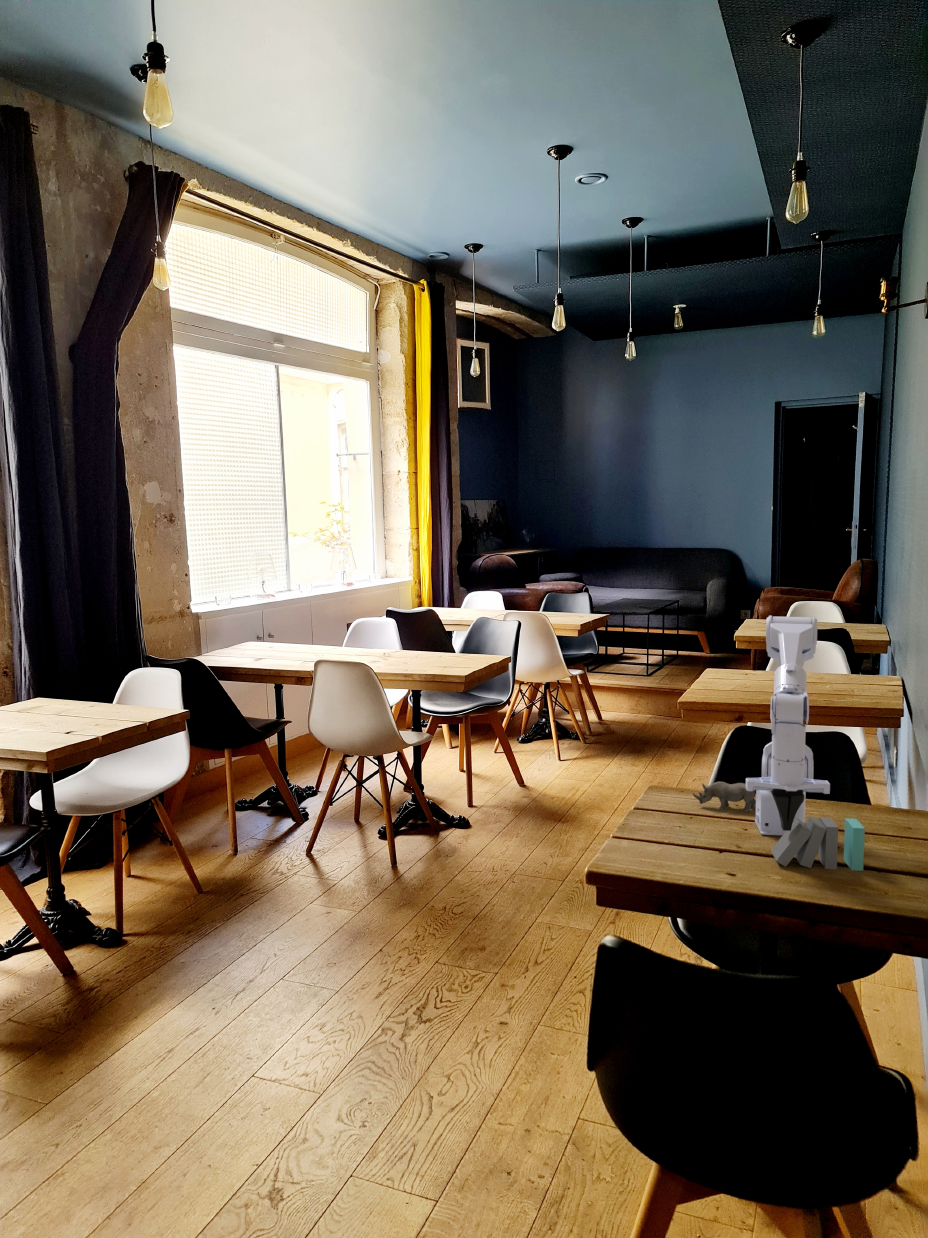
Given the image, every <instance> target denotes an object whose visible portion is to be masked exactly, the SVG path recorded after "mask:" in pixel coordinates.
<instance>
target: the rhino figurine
mask: <svg viewBox="0 0 928 1238" xmlns="http://www.w3.org/2000/svg"><path fill="white" fill-rule="evenodd" d="M702 788H703V792H699V791H698V794H699V795H697V794H695V793H694V792H692V796H693V797H694V798H695V799H696V800H698V801H699V804H701V805H702V804H703V805H704V804H705V803H707V802H708V803H709V802H710V801H712V798H718V800H719V802H720V806H719V808H718V810H719V811H726V810H727V808H728V807H729V806H730V803H729V802H733V803H737V802H741V801H742V800H743V801H744V803H745V804H744V807H743V808H742V809H741V810H742V812H745V813H748V812H751V810H756V790H753V791H747V790H746V783H743V782H737V783H732V784H730V783H727V782H725V781H716V782H714V783H711V784H709V785H706V784H705V783H702Z"/></svg>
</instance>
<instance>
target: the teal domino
mask: <svg viewBox="0 0 928 1238" xmlns="http://www.w3.org/2000/svg"><path fill="white" fill-rule="evenodd" d="M865 828H866V827H864V826H863V824H861V822H860V821H859V819H857V818H848V817H847V818H844V838H843V839H844V841H843V861H844V862H845V864H847V866H848V868H849V869H850V870H851V871H856V872H857V871H858V872H859V871H861V872H862V871H864V860H865V859H864V857H865V856H864V855H865V834H866V833H865V832H866V829H865Z"/></svg>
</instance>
